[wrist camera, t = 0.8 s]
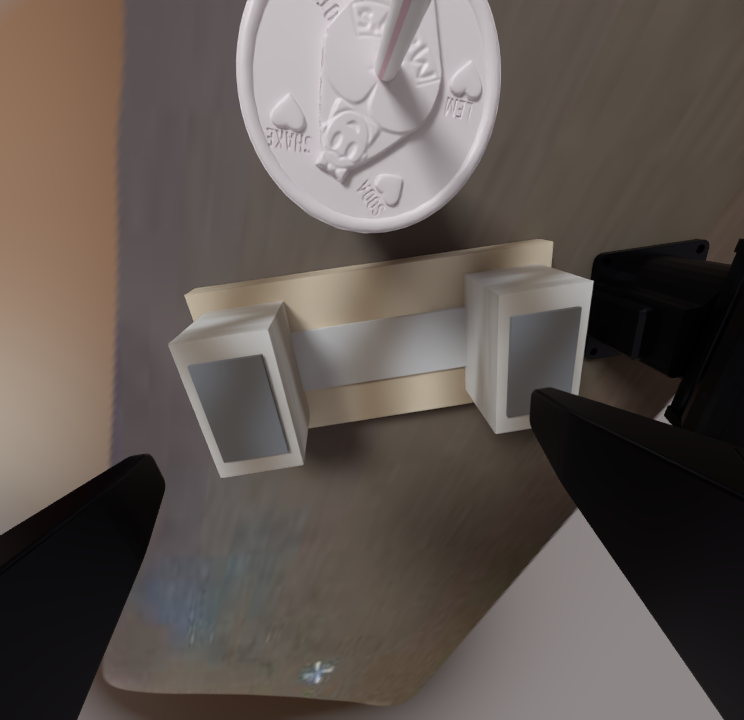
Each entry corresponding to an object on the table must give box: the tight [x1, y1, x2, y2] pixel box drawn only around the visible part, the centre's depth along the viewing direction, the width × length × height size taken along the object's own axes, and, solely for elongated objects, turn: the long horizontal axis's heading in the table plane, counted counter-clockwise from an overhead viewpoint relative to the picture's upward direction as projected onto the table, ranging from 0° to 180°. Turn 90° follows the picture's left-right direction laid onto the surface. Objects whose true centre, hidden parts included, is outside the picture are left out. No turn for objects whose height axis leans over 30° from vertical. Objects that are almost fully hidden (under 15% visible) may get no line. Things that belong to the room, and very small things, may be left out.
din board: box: [168, 239, 594, 478], centre depth 19 cm, size 19×9×6 cm, turn 97°
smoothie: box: [236, 0, 501, 234], centre depth 11 cm, size 6×6×14 cm
